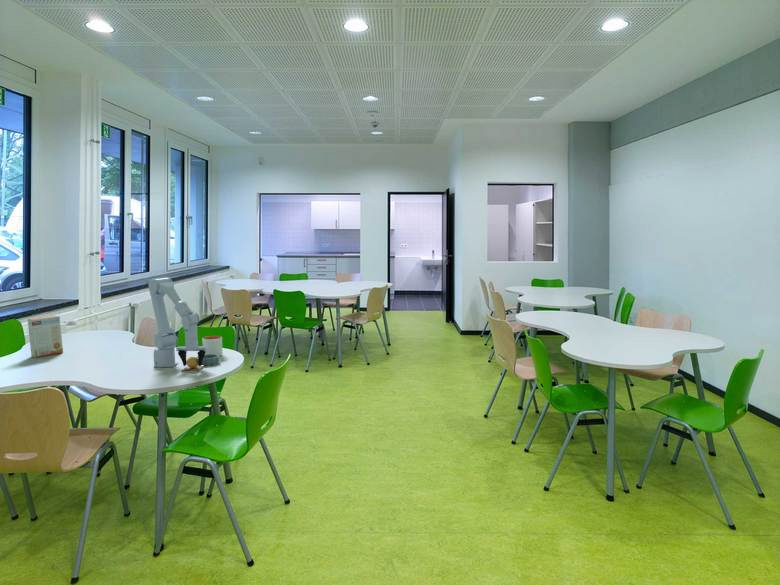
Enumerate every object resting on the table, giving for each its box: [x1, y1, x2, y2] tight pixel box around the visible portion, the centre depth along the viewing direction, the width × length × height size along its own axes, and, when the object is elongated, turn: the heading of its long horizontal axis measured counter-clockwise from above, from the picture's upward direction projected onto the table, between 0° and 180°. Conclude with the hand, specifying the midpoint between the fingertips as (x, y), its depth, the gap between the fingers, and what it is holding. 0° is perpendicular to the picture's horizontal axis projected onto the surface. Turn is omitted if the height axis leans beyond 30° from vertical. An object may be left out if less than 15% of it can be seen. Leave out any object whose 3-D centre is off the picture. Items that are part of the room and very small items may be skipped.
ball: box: [186, 356, 199, 368], centre depth 259 cm, size 6×6×6 cm
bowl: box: [195, 354, 220, 366], centre depth 271 cm, size 11×11×4 cm
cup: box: [201, 335, 223, 357], centre depth 287 cm, size 10×10×10 cm
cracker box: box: [27, 315, 64, 359], centre depth 291 cm, size 14×6×21 cm, turn 146°
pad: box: [181, 365, 205, 372], centre depth 260 cm, size 8×8×1 cm
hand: (192, 365), depth 259 cm, fingers open, 7 cm apart
